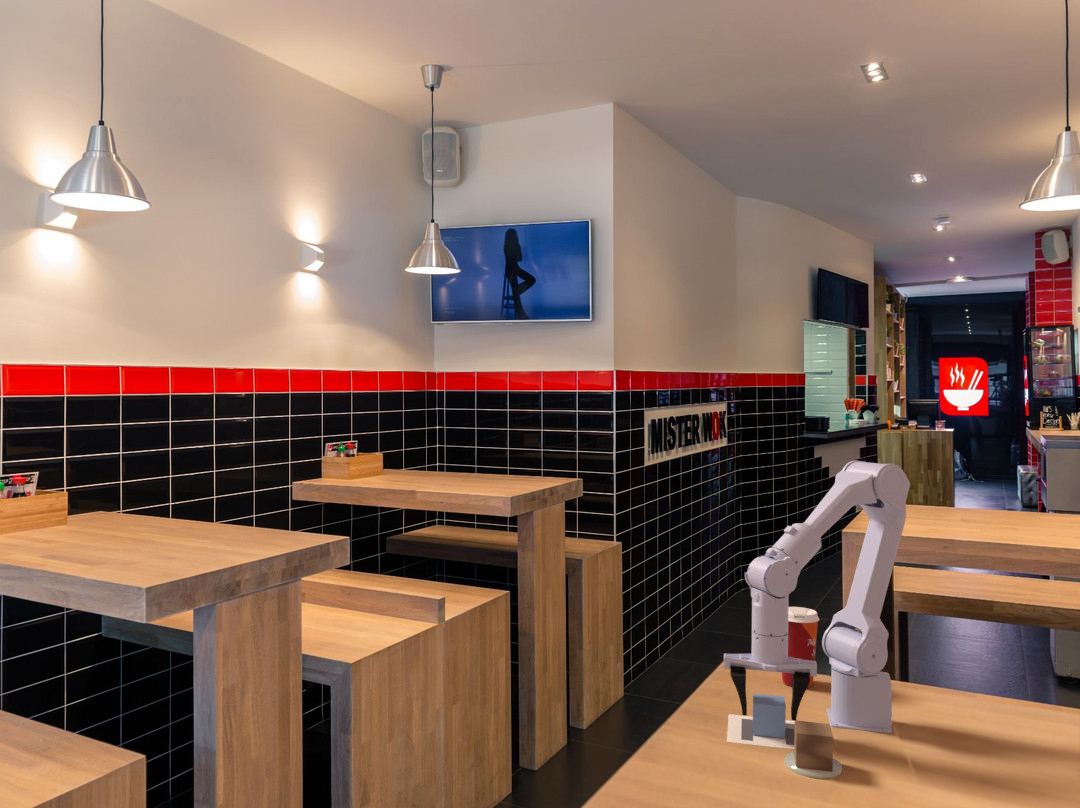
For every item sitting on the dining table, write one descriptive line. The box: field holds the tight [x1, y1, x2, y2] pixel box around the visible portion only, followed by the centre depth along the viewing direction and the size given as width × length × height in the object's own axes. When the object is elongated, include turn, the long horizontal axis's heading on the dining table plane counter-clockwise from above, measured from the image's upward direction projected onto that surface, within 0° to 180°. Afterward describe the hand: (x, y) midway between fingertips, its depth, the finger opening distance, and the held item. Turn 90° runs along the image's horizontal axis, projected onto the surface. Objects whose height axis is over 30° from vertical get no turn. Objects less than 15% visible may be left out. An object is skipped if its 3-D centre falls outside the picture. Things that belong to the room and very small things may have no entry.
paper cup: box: [781, 606, 820, 689], centre depth 157 cm, size 8×8×14 cm
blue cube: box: [752, 693, 787, 738], centre depth 133 cm, size 5×5×5 cm
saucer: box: [784, 752, 843, 780], centre depth 120 cm, size 8×8×1 cm
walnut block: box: [793, 719, 834, 772], centre depth 120 cm, size 5×5×5 cm
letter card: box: [726, 713, 795, 750], centre depth 132 cm, size 13×12×1 cm
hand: (768, 715), depth 132 cm, fingers open, 7 cm apart
